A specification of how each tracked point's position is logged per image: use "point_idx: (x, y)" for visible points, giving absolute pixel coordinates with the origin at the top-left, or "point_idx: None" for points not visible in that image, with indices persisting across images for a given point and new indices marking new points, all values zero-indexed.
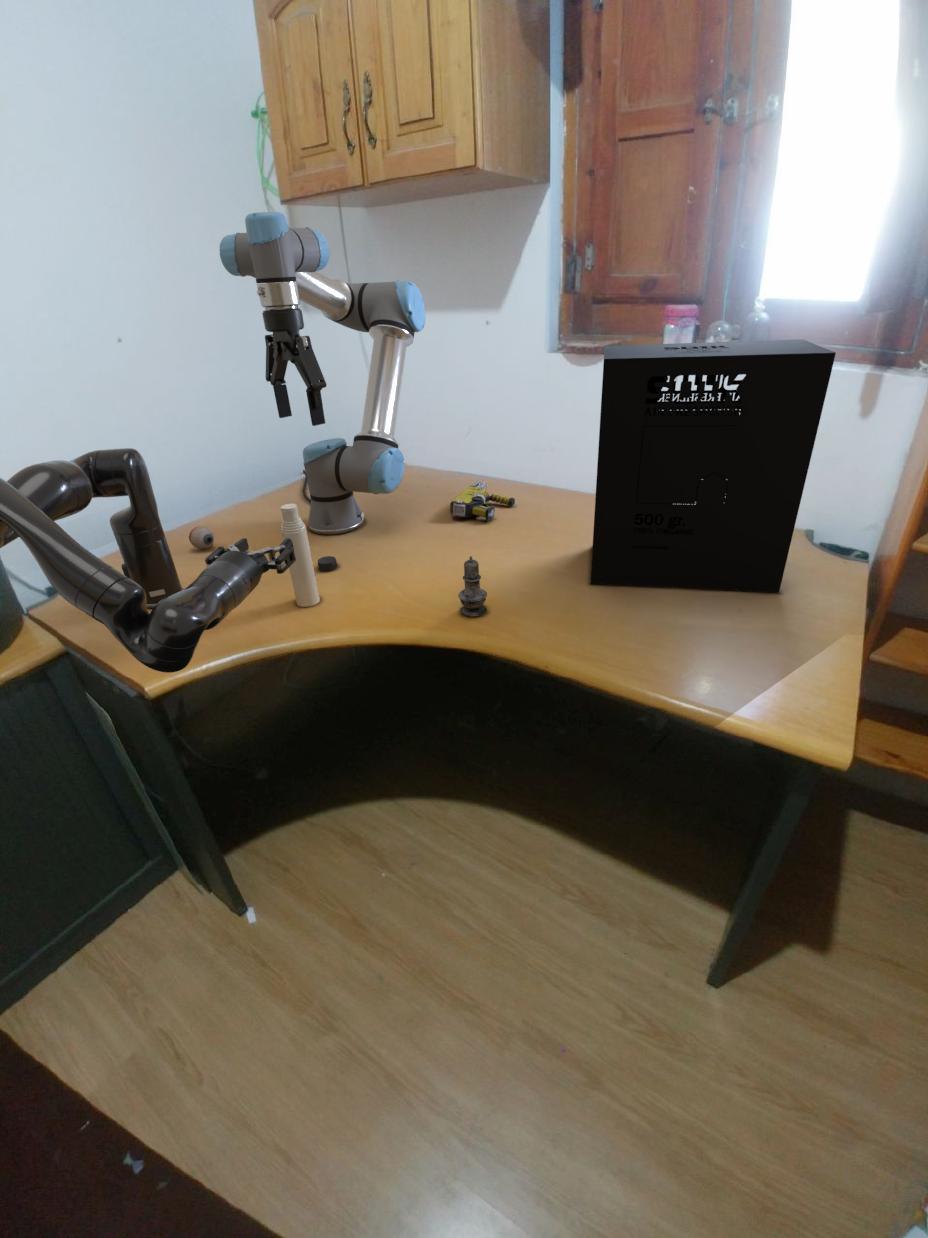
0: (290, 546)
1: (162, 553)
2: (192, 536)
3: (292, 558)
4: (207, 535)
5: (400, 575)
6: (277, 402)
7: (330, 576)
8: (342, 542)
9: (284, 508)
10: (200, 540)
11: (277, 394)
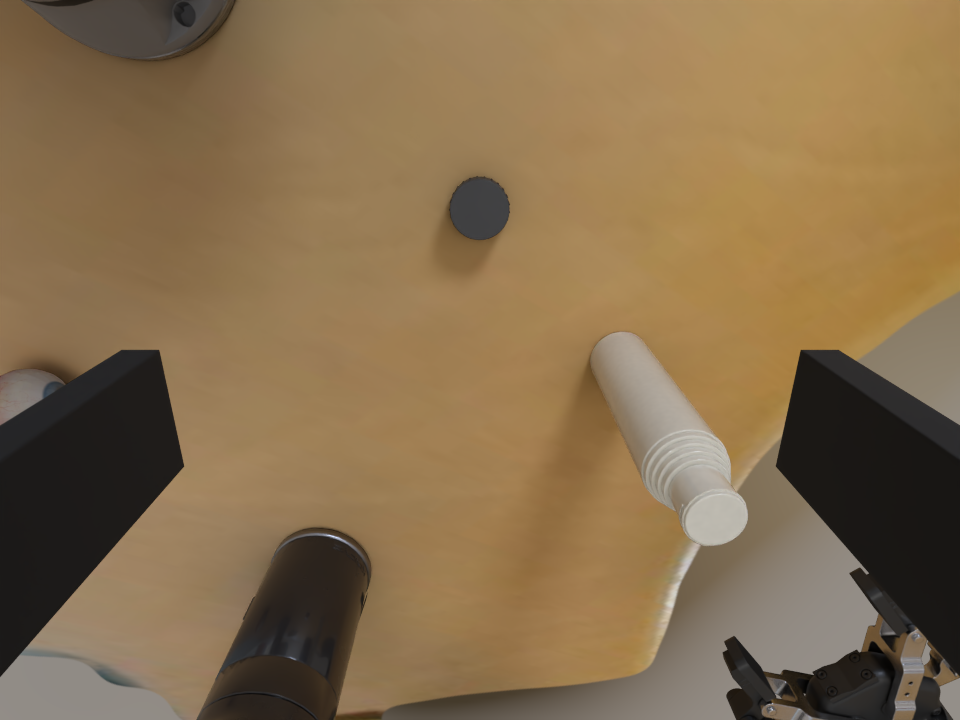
0: None
1: (336, 649)
2: None
3: None
4: None
5: (720, 76)
6: (80, 569)
7: (538, 236)
8: (322, 37)
9: (724, 542)
10: None
11: (17, 636)
